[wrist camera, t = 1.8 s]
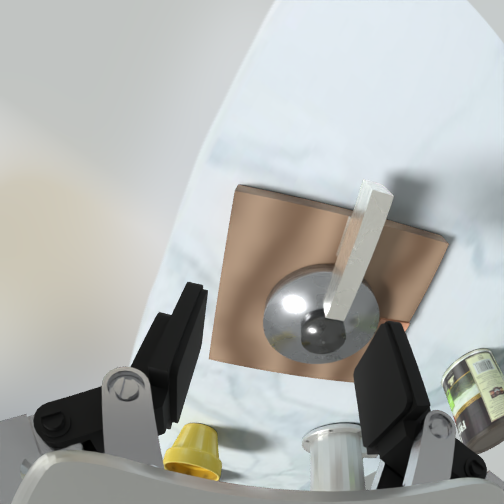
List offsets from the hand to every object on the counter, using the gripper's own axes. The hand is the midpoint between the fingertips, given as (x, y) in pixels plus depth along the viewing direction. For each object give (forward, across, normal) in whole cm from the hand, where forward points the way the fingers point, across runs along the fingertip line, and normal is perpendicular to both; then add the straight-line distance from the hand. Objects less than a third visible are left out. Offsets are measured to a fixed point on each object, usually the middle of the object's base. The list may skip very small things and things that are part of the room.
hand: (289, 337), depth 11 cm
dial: (+17, -6, +7) cm, 20 cm away
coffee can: (+20, -36, +21) cm, 47 cm away
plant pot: (+20, +4, +48) cm, 52 cm away
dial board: (+20, -6, +12) cm, 24 cm away
